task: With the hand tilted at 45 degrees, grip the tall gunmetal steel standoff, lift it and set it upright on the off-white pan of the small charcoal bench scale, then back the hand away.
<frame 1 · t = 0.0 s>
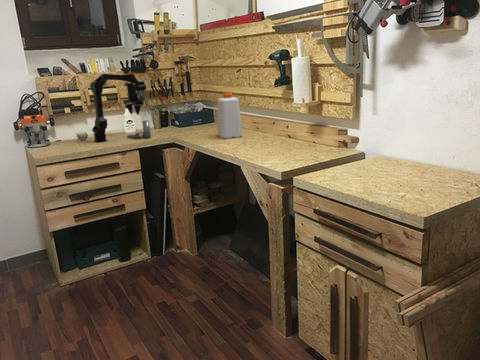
hand: (134, 114, 283), 15 cm above the workbench, fingers open, 9 cm apart
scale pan: (137, 133, 279), point 2 cm above the workbench, slide at 0.8 cm
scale: (138, 136, 279), on the workbench
standoff: (147, 138, 272), on the workbench
plastic bottle: (230, 136, 265), on the workbench
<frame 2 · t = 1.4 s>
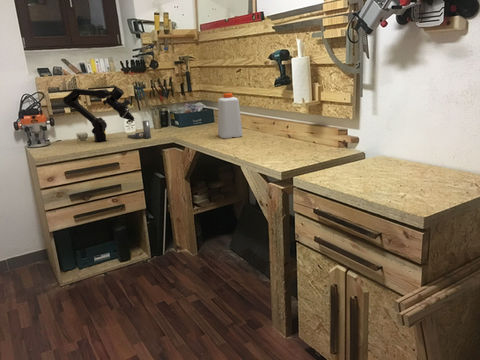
hand: (134, 119, 266), 13 cm above the workbench, fingers open, 9 cm apart
nothing on the workbench moved.
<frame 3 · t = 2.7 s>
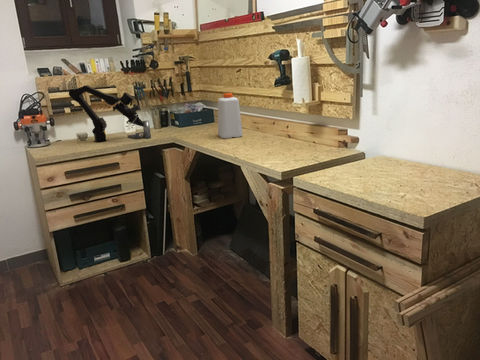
hand: (143, 125, 268), 9 cm above the workbench, fingers open, 9 cm apart
nothing on the workbench moved.
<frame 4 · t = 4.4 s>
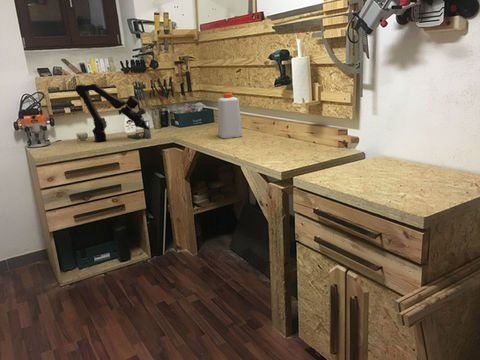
hand: (148, 128, 270), 7 cm above the workbench, fingers closed on standoff, 4 cm apart
standoff: (147, 138, 272), on the workbench, touching gripper
everything else where it was.
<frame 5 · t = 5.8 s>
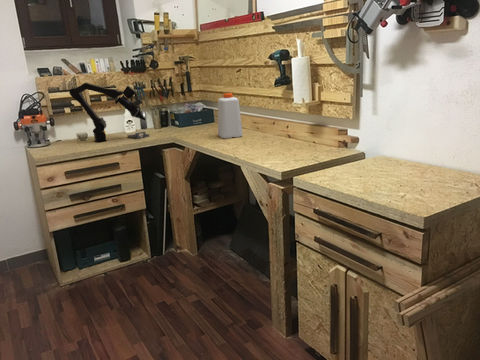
hand: (145, 119, 269), 13 cm above the workbench, fingers closed on standoff, 4 cm apart
standoff: (144, 128, 271), point 6 cm above the workbench, touching gripper
everything else where it was.
when the fingers open (11 cm above the workbench, at t = 7.4 s): standoff drops 2 cm, resting on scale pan.
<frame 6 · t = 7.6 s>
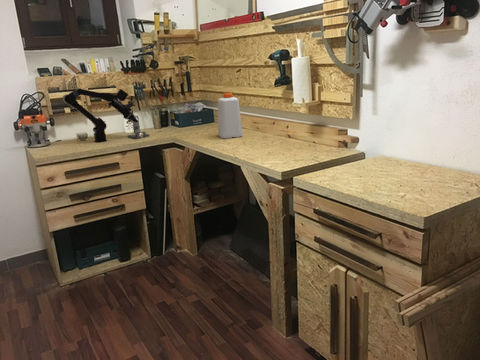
hand: (137, 121, 276), 11 cm above the workbench, fingers open, 6 cm apart
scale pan: (137, 133, 279), point 2 cm above the workbench, slide at 0.9 cm, touching standoff
standoff: (137, 133, 278), point 2 cm above the workbench, touching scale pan
everything else where it was.
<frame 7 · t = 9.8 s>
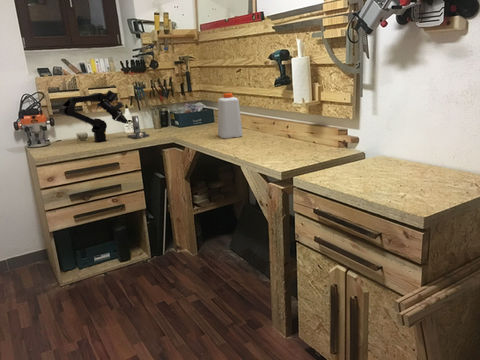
hand: (126, 122, 275), 11 cm above the workbench, fingers open, 9 cm apart
nothing on the workbench moved.
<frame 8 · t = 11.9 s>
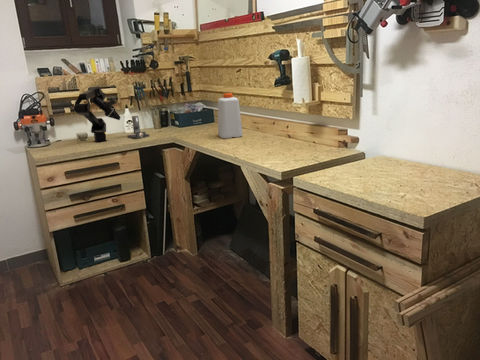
hand: (120, 118, 273), 14 cm above the workbench, fingers open, 9 cm apart
nothing on the workbench moved.
at the end: standoff 0.1 cm off-centre on the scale, point 2.4 cm above the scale's base; standoff tilted 0°; the gripper is holding nothing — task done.
